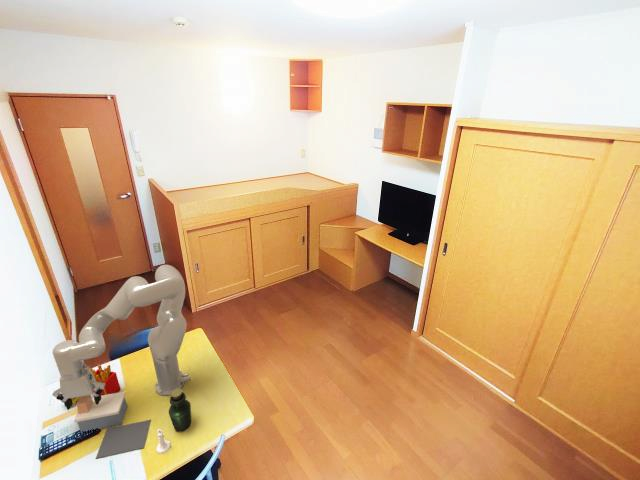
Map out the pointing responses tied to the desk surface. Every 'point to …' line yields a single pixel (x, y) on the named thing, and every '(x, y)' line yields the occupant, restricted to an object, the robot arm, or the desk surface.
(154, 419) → the desk surface
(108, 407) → the snap lid
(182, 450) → the desk surface
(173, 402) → the potion bottle
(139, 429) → the rubber mat
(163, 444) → the chess piece
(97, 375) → the french fries container
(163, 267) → the robot arm
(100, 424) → the parts tub
